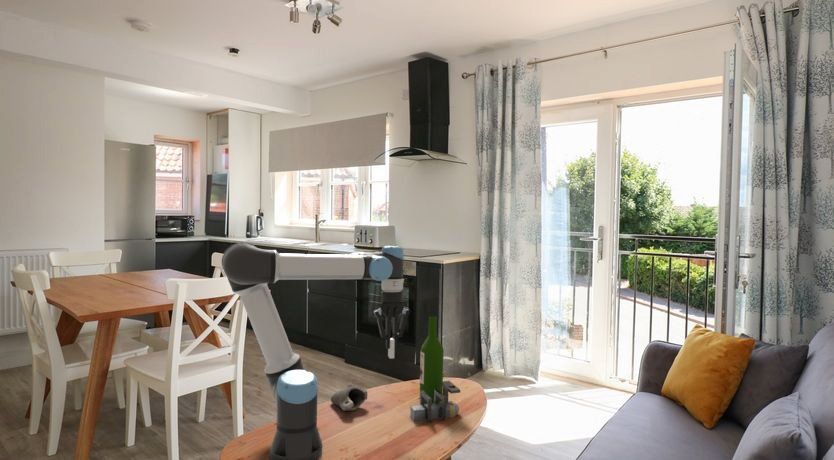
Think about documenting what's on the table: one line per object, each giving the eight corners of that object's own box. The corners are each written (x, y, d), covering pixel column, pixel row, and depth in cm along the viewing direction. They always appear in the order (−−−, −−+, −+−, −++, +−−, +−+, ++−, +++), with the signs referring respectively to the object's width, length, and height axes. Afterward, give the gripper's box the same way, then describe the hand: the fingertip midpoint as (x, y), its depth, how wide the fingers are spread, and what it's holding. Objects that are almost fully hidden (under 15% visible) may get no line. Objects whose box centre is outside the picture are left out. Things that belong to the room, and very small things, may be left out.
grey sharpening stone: (414, 421, 168) (414, 410, 168) (410, 417, 172) (410, 406, 172) (461, 415, 174) (461, 404, 174) (456, 411, 178) (456, 400, 178)
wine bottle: (416, 396, 192) (418, 315, 191) (437, 394, 194) (439, 314, 193) (423, 405, 183) (425, 319, 182) (445, 402, 186) (447, 318, 185)
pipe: (336, 429, 179) (360, 419, 170) (318, 414, 177) (342, 403, 168) (354, 394, 192) (377, 383, 183) (338, 380, 190) (360, 367, 182)
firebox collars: (428, 422, 168) (428, 394, 167) (417, 410, 178) (418, 383, 177) (460, 418, 172) (461, 390, 172) (448, 407, 182) (449, 380, 182)
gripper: (376, 292, 163) (375, 362, 164) (413, 291, 167) (412, 359, 168) (371, 289, 170) (370, 355, 171) (407, 288, 174) (405, 353, 175)
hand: (391, 357), depth 169 cm, fingers closed
